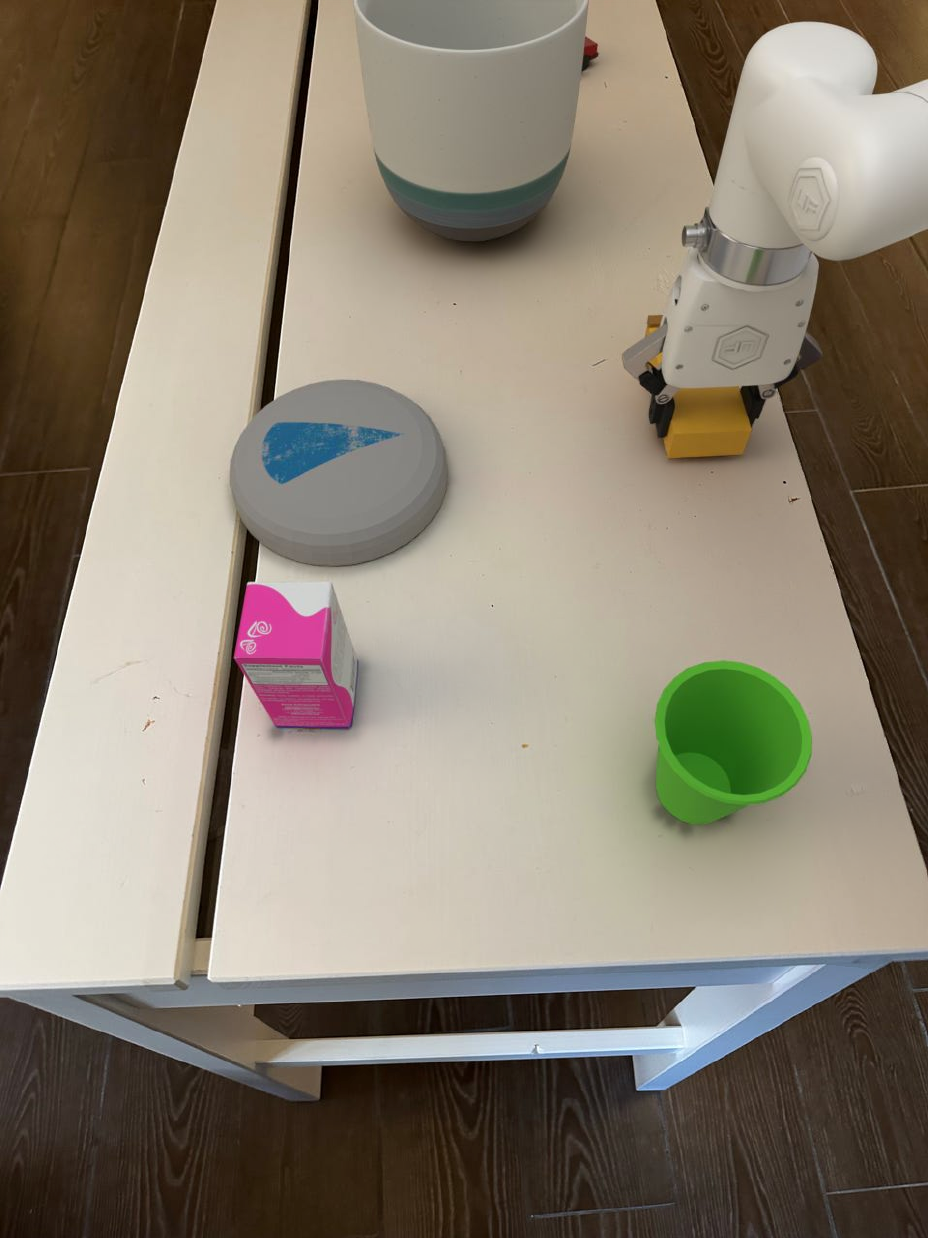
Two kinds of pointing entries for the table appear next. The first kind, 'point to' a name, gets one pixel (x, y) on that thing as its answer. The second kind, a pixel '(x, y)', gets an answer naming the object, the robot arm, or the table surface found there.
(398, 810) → the table surface
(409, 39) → the planter
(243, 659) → the supplement box
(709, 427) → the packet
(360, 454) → the grey frisbee
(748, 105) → the robot arm
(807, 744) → the cup
